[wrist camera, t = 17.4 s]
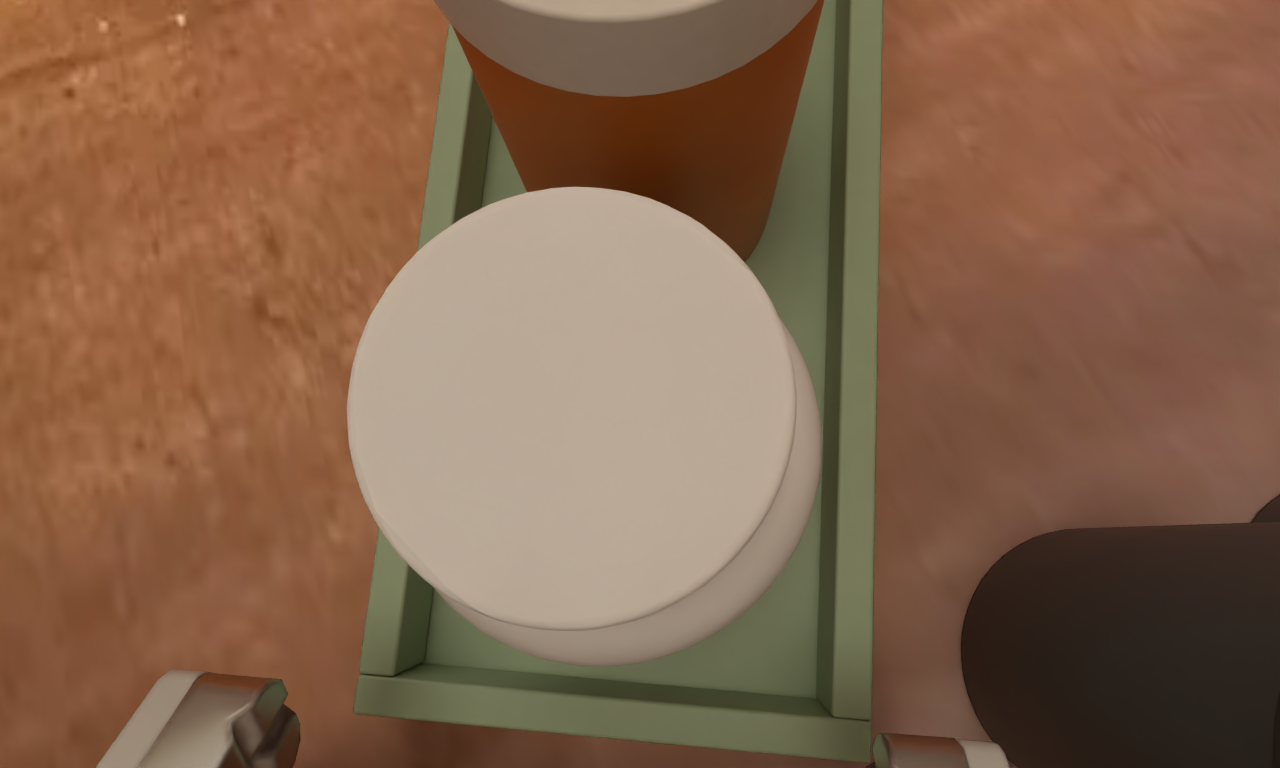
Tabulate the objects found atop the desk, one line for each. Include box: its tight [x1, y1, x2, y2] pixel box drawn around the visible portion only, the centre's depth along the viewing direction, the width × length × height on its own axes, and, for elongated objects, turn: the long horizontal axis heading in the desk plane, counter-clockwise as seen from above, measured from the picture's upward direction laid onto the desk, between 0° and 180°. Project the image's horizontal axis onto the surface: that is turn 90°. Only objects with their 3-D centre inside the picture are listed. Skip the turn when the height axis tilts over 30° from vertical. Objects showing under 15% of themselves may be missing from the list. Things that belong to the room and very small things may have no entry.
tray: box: [353, 0, 883, 763], centre depth 19 cm, size 26×11×2 cm, turn 176°
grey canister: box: [962, 522, 1280, 768], centre depth 12 cm, size 6×6×11 cm
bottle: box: [434, 0, 824, 262], centre depth 15 cm, size 6×6×11 cm
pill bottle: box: [347, 187, 822, 666], centre depth 13 cm, size 6×6×11 cm
